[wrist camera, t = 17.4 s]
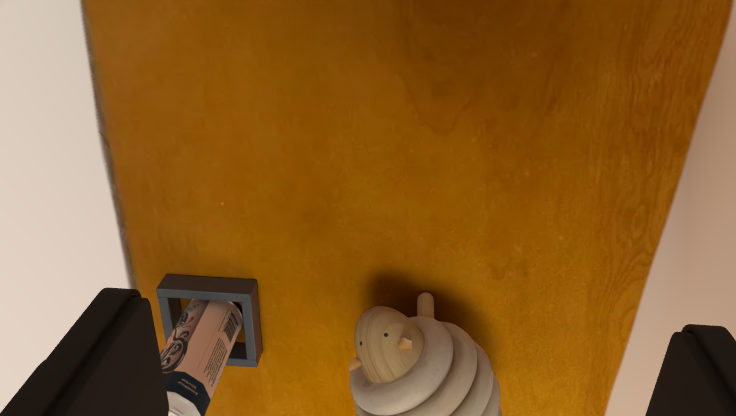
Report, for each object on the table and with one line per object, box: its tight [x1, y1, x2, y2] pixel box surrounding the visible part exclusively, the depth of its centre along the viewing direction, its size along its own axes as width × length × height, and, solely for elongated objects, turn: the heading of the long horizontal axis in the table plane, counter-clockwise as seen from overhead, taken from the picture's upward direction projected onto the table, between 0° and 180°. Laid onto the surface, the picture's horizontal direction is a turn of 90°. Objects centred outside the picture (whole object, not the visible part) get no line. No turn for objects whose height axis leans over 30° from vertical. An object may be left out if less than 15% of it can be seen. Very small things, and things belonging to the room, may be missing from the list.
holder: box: [157, 274, 262, 367], centre depth 49 cm, size 7×7×2 cm
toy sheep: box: [348, 292, 502, 416], centre depth 44 cm, size 11×17×11 cm, turn 36°
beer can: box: [160, 299, 243, 416], centre depth 44 cm, size 5×5×12 cm
